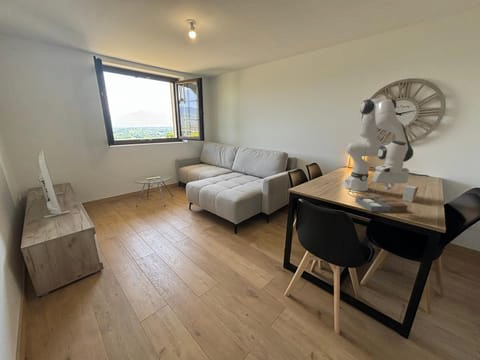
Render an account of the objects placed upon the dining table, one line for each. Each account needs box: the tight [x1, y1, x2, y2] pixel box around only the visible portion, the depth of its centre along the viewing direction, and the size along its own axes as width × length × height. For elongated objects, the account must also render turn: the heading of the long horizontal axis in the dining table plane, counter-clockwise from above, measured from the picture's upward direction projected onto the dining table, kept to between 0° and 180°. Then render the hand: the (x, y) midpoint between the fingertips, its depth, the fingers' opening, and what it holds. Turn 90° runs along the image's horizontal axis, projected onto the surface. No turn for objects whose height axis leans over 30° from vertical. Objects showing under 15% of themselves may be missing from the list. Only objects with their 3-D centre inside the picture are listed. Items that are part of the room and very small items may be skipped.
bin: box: [354, 196, 391, 213], centre depth 130 cm, size 16×12×4 cm
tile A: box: [363, 199, 375, 204], centre depth 134 cm, size 5×5×2 cm
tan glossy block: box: [374, 196, 409, 213], centre depth 130 cm, size 16×10×4 cm, turn 1°
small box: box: [402, 184, 419, 203], centre depth 142 cm, size 8×6×10 cm
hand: (387, 189), depth 124 cm, fingers closed
